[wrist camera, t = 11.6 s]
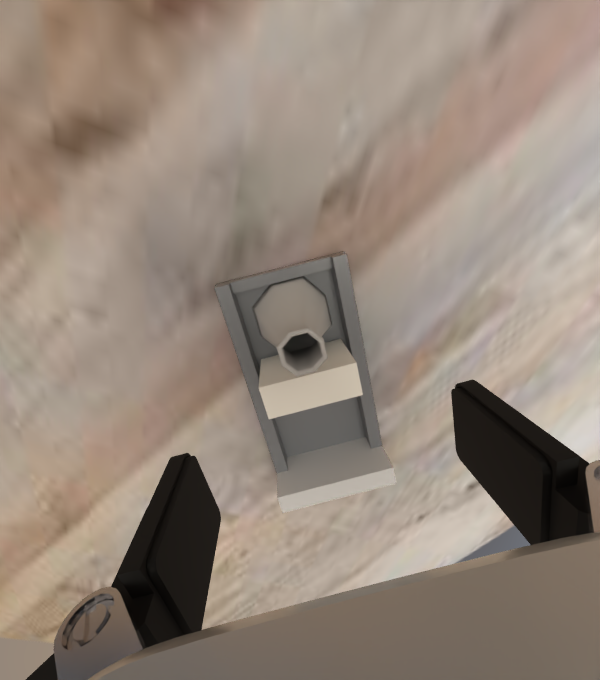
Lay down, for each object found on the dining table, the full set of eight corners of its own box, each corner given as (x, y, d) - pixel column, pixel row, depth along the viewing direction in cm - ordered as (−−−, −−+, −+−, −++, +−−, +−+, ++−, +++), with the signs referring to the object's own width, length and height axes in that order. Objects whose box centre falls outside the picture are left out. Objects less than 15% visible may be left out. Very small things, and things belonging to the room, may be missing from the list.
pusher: (261, 359, 30) (258, 387, 24) (340, 338, 30) (356, 362, 24) (269, 385, 31) (268, 419, 25) (346, 365, 31) (362, 394, 25)
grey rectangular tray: (216, 284, 28) (202, 295, 23) (342, 251, 28) (360, 255, 23) (278, 469, 36) (279, 514, 30) (379, 443, 36) (399, 482, 30)
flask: (305, 260, 28) (322, 273, 18) (344, 325, 30) (377, 367, 21) (238, 303, 28) (221, 337, 19) (281, 364, 31) (285, 421, 21)
